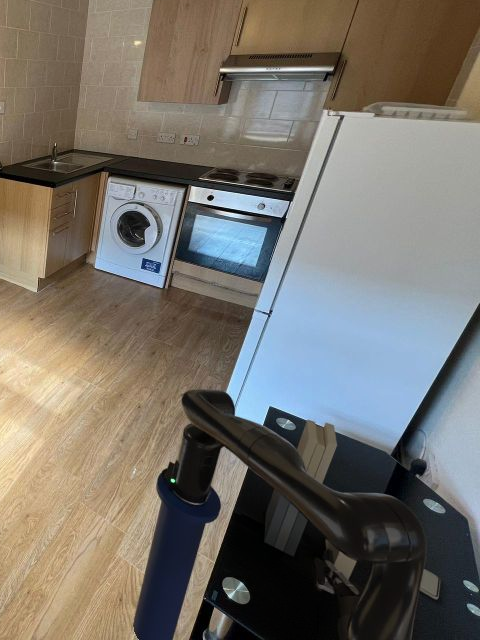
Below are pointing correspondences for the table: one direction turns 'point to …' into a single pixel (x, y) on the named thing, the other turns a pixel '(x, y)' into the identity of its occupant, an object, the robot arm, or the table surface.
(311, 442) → the beige books
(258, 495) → the table surface
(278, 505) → the grey books
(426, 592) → the smartphone
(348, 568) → the beige thin block
